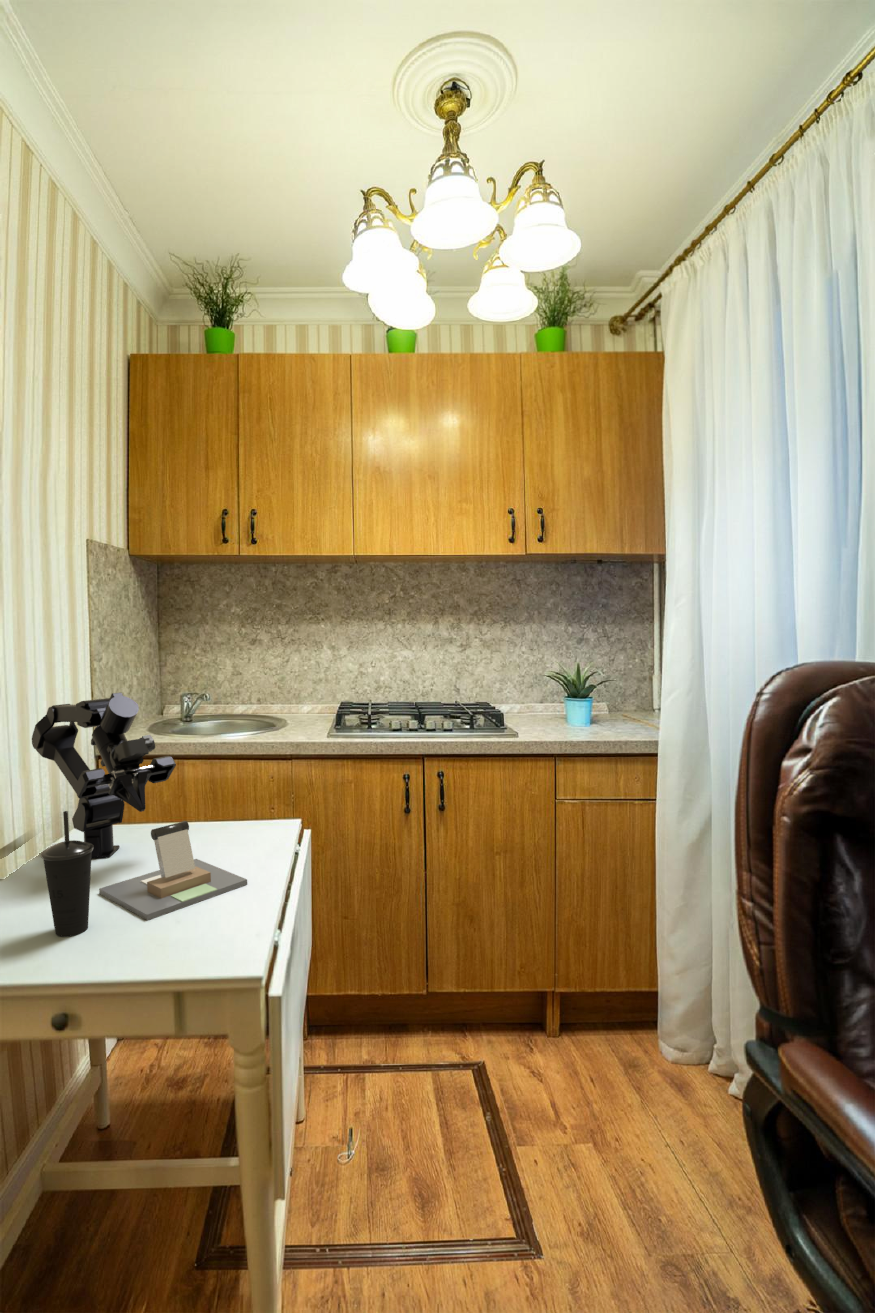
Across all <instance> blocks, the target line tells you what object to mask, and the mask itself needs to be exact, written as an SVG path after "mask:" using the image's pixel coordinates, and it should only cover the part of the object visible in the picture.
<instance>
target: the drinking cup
mask: <svg viewBox="0 0 875 1313" xmlns="http://www.w3.org/2000/svg"><path fill="white" fill-rule="evenodd" d="M62 815H63V830H64V831H63V833H64V840H63V841H61V842H58V843H55V844H53V845H51V846H49V847H47V848H45V849H43V850H42V851H41V853H40V857H41V859H43V865H44V872H45V878H46V884H47V890H48V896H49V897H48V898H49V902H50V908H51V914H52V919H53V920H52V921H53V926H54V933H55V935H56V936H57V937H63V938H66V937H72V936H73V937H74V936H77V935H80V934H83V933H85V931H87V930H88V928H89V916H90V912H89V911H90V894H91V893H90V892H91V891H90V890H91V875H92V873H91V872H92V871H91V869H92V858H91V854H92V851H93V845H92V844H91V843H87V842H84V841H81V840H75V839H73V840H72V839H71V840H70V828H69V827H70V825H69V811H68V810H64V811H63V813H62Z"/></svg>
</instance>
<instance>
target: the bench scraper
mask: <svg viewBox="0 0 875 1313" xmlns="http://www.w3.org/2000/svg"><path fill="white" fill-rule="evenodd" d="M189 829H190V825H189V823H188V821H186V820H184V821H180V822H176V823H172V824H168V825H165V826H161V827H157V828H153V829H151V831H150V837H151V840H153V842H154V846H155V851H156V852H155V853H156V856H157V862H158V867H159V870H160V873H161V878H167V877H170V876H173V875H176V874H179V873H183V872H186V871H189V870H192V869H195V864H194V859H195V858H194V854H193V850H192V845H191V840H190V834H189V831H190V830H189Z"/></svg>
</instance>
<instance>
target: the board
mask: <svg viewBox="0 0 875 1313" xmlns="http://www.w3.org/2000/svg"><path fill="white" fill-rule="evenodd" d="M193 859H194V864H195V869H192V870H189V871H186V872H183V873H179V874H176V875H173V876H170V877H167V878H161V873H160V869H158V870H155V871H152V872H149V873H146V874H142V875H139V876H135V877H132V878H129V879H125V880H122V881H119V882H116V883H113V884H110V885H105V886H103V887H99V889H98V893H99V895H101V896H102V897H104V898H106V899H108V900H110V901H112V902H113V903H116V904H117V905H119V906H121V907H123V908H124V909H125V910H128V911H129V912H132V913H133V914H135V915H137V916H139V917H140V918H142V919H144V920H145V921H150V920H151V919H155V918H158V917H161V916H163V915H166V914H169V913H171V912H175V911H177V910H180V909H183V908H186V907H188V906H191V905H194V904H197V903H199V902H202V901H206V900H208V899H210V898H214V897H217V896H220V895H222V894H224V893H228V892H230V891H233V890H236V889H239V888H241V887H244V886H247V885H248V878H245V877H243V876H239V875H237V874H235V873H232V872H230V871H228V870H225V869H222V868H220V867H218V866H215V865H213V864H210V863H208V862H206V861H203V860H201V859H198V858H193Z"/></svg>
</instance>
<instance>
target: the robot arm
mask: <svg viewBox="0 0 875 1313" xmlns="http://www.w3.org/2000/svg"><path fill="white" fill-rule="evenodd" d="M139 709H140V707H139V704H138V703H137V702H136V701H135V700H134V699H132V698H130V697H128V696H125V695H124V694H123V693H122V692H113V693H112V692H111V694H110V697H107V698H98V699H97V698H96V699H88V700H81V701H79V702H77V703H75V704H71V703H64V704H55V705H51V706H49V707H48V708H47V711H46V714H45V715H44V716H43V717H42V718H41V719H40V720H39V721H37V723H36V724H35V725H34V728H33V732H32V736H31V744H32V747H33V749H35V751H36V752H37V754H39V756H40V757H42V758H44V759H47V760H51V761H53V762H54V763H55V764H56V765H57V767H58V769H59V770H60V771H61V773H62V774H63V776H64V778H65V779H66V780H67V782H68V783H69V785H70V787H71V788H72V789H73V791H74V792H75V794H76V796H77V798H78V802H77V807H76V810H75V811H74V814H73V815H72V818H71V819H72V826H73V828H74V829H75V830H77V831H79V832H81V833H83V842H87V843H91V844H92V845H93V851H92V854H91V859H95V858H97V859H98V858H110V857H111V856H113V854H115V852H117V851H118V850H119V849H120V847H121V846H120V845H118V844H117V845H114V828H113V827H114V825H116V824H121V823H123V818H124V813H125V812H124V810H125V802H126V804H128V805H130V806H131V807H132V808H134V809H135V810H137V812H139V813H142V812H145V810H146V785H147V783H148V782H149V783H151V784H159V783H161V782H166V781H167V780H169V778H170V777H171V775H172V773H173V772H174V769H175V768H176V766H177V765H176V764H177V763H176V761H175V760H174V758H173V757H172V756H170V755H165V756H161V757H154V758H152V760H151V762H150V764H149V765H148V766H146V765H145V766H142V767H141V766H140V765H141V764H143V762H144V761H145V760H144V758H143V757H144V756H146V755H149V753H150V752H153V751H154V750H155V749H156V742H155V739H154V738H153V736H152V735H151V734H147V735H146V734H145V735H142V736H141V737H139V738H135V739H131V740H130V739H129V740H128V739H127V738H126V735H125V734H126V733H127V732H128V731H130V729H131V727H132V725H133V723H134V721H135V719H136V717H137V715H138V712H139ZM56 723H57V724H58V723H69V724H63V725H57V726H55V724H56ZM77 726H79V727H81V728H84V729H88V728H94V727H95V728H94V730H93V731H92V734H91V739H90V744H91V746H96V748H97V750H98V752H99V755H100V757H101V761H100V765H101V767H105V768H106V771H107V773H106V772H105V770H104V768H101V767H99V768H93V769H90V767H89V766H88V765H87V763H86V762H85V761H84V759H83V758H82V756H81V755H80V754H79V752H78V750H76V748H75V744H76V738H77V735H78V732H79V729H78V727H77Z"/></svg>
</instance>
